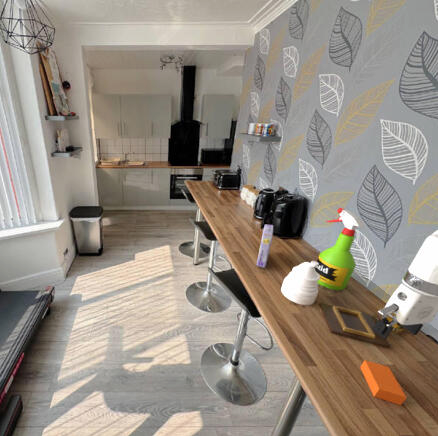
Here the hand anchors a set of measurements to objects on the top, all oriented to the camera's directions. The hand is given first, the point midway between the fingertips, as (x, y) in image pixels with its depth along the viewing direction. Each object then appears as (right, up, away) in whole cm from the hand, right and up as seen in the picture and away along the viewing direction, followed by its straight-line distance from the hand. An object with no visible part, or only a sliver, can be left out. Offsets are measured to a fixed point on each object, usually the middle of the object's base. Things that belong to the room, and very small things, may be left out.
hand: (394, 332), depth 65 cm
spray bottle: (+19, +2, +51) cm, 54 cm away
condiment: (+23, -10, +25) cm, 35 cm away
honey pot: (-2, -2, +39) cm, 39 cm away
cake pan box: (-5, +9, +64) cm, 65 cm away
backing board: (+9, -9, +24) cm, 27 cm away
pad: (0, -17, +4) cm, 18 cm away
